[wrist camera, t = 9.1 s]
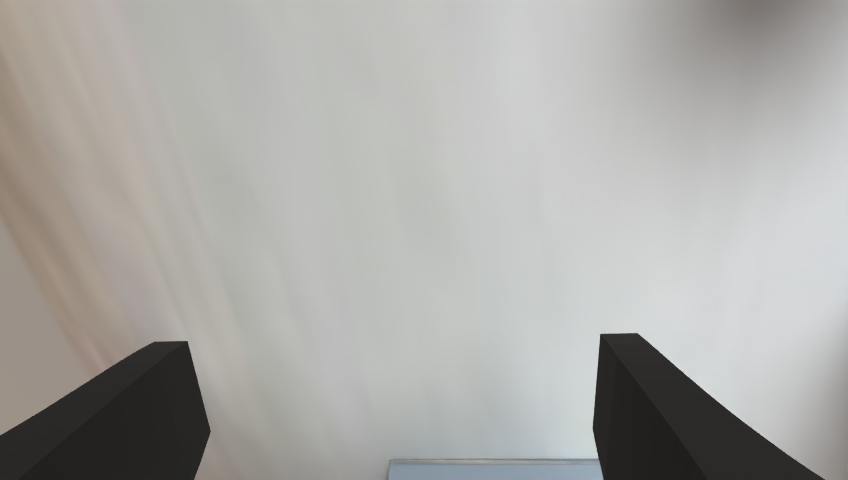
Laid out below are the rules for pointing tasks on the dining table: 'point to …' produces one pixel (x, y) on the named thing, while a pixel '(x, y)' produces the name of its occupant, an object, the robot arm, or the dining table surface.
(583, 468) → the socket block
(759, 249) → the dining table surface
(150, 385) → the robot arm
